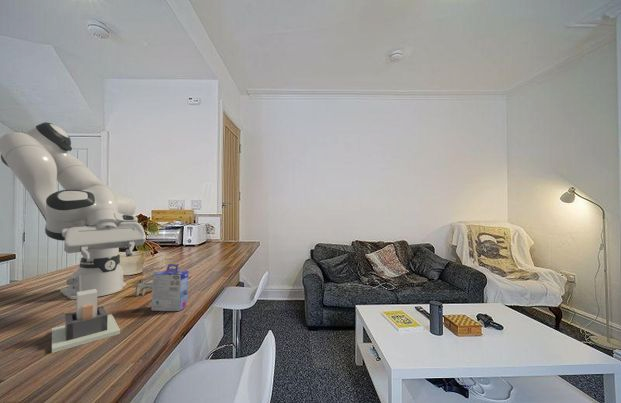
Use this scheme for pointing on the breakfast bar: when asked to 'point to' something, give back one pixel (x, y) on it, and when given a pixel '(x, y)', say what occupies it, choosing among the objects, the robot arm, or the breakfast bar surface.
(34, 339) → the breakfast bar surface
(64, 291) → the robot arm
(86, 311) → the cream square peg
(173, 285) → the ink cartridge box
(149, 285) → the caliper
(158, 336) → the breakfast bar surface
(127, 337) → the breakfast bar surface
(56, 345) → the socket
